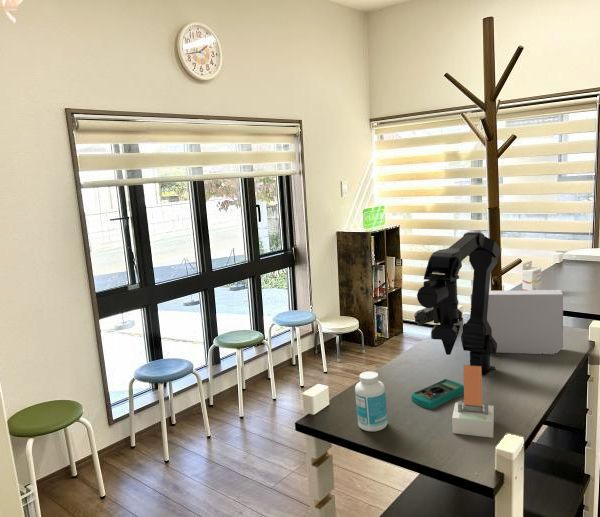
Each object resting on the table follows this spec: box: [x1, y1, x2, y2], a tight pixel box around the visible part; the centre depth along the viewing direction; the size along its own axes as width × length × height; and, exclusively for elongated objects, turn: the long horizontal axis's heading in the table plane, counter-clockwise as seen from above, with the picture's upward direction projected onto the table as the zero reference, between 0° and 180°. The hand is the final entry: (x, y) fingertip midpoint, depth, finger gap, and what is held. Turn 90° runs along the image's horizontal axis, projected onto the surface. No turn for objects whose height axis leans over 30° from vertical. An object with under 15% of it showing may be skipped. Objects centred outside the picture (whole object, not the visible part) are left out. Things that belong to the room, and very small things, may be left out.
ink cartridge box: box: [521, 260, 542, 291], centre depth 228 cm, size 9×5×15 cm, turn 130°
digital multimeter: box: [410, 378, 464, 410], centre depth 138 cm, size 7×15×3 cm, turn 123°
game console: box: [470, 289, 564, 355], centre depth 165 cm, size 6×27×20 cm, turn 71°
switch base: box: [451, 400, 495, 439], centre depth 121 cm, size 8×9×6 cm
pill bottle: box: [354, 370, 389, 432], centre depth 126 cm, size 8×7×14 cm
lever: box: [463, 364, 483, 412], centre depth 121 cm, size 2×4×11 cm, turn 68°
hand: (448, 353), depth 137 cm, fingers closed
